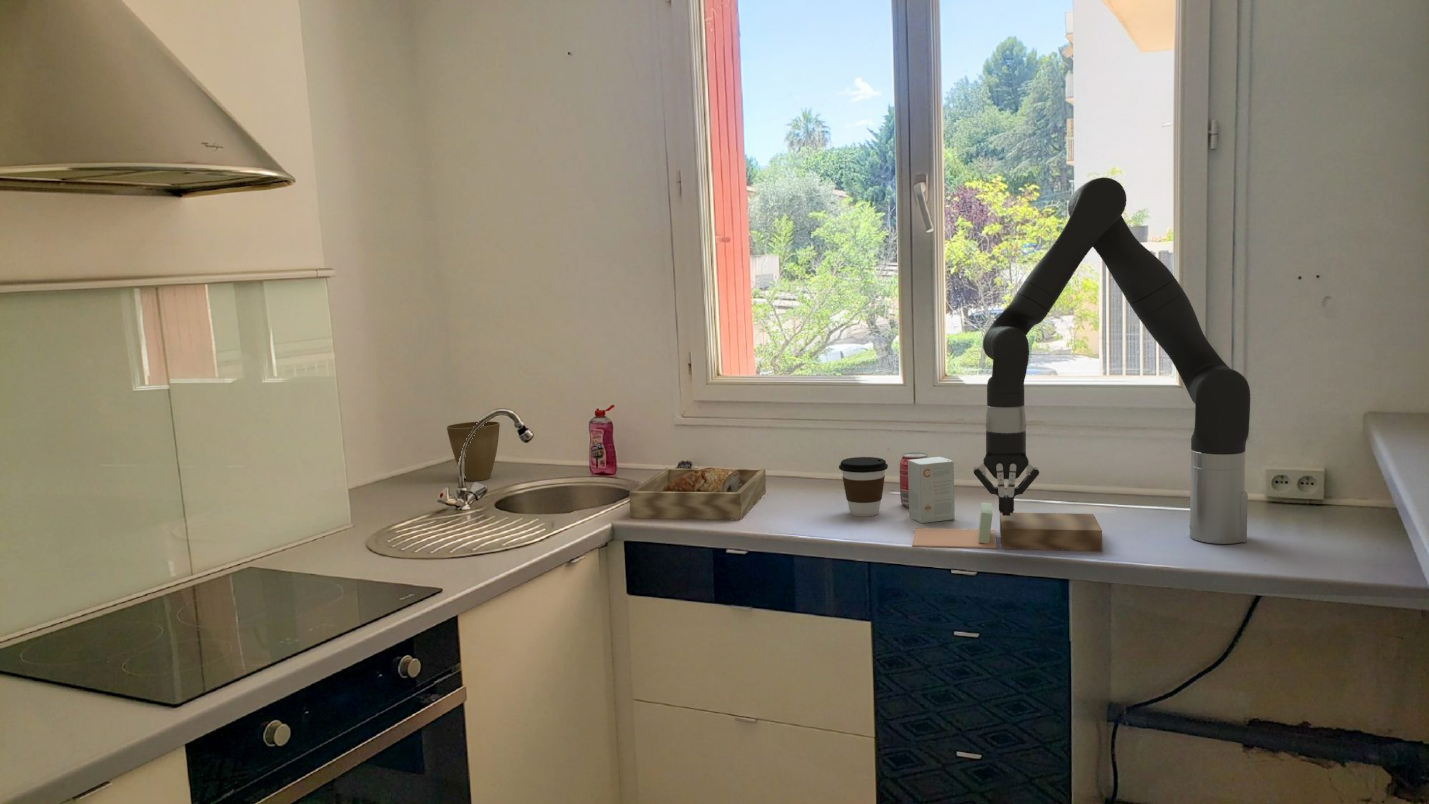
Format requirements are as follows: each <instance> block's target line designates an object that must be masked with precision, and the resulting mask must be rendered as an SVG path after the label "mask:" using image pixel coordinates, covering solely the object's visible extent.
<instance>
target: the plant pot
mask: <svg viewBox="0 0 1429 804" xmlns="http://www.w3.org/2000/svg"><path fill="white" fill-rule="evenodd" d="M478 422H479V421H469V422H467V421H466V422H459V423H454V424H450V425H447V426H446V431H447V435H448V439H449V443H450V444H449V445H450V447H451V451H452V454H453V457H454V459H455V462H456V465H457V466H458V462H459V458H460V456H461V451H462V448H463V445H464V443H465V442H466V438H468V435H469V434H470V433H471V431H472V429H473V426H475V425H476V423H478ZM500 425H501V423H500V422H498V421H494V420H493V421H492V420H491V421H488V422H487V423H485V424H484V426H482V427H481V428H479V430H478V431H477V432H476V434H475V436H473V439H472V440H471V443H469V446H468V448H467V451H466V457H465V476H466V480H465V481H466V482H475V481H476V482H477V481H479V482H480V481H485V480H489V479H490V478H491V476H492V473H493V470H494V466H495V461H496V457H497V451H498V446H499V445H498V444H499V437H500V427H501V426H500Z"/></svg>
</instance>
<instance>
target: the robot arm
mask: <svg viewBox="0 0 1429 804" xmlns="http://www.w3.org/2000/svg"><path fill="white" fill-rule="evenodd" d="M1125 190H1126V189H1124V187H1123V186H1122V184H1121V183H1120V182H1119V181H1117V180H1115V179H1114V178H1110V177H1097V178H1094V179H1091V180H1089V181H1087V182H1086V183H1083V185H1081V186H1080V187H1079V188H1077V189H1076V190H1075V191H1074V192H1073V193H1072V194H1071V196H1070V198H1069V200H1068V204H1067V212H1068V215H1069V217H1068V220H1067V222H1066V224H1065V226H1064V227H1063V229H1062V230H1061V232H1060V234H1059V235H1058V237H1057V238H1056V240H1055V241H1054V243H1053V244H1052V245H1051V246H1050V248H1049V249H1048V250H1047V251H1046V253H1045V254H1044V255H1043V257H1042V258H1041V259H1039V262H1037V264H1036V265H1035V266H1034V267H1033V269H1032V270H1031V272H1029V274H1028V276H1027V277H1026V279H1025V280H1024V282H1023V283H1022V285H1021V286H1020V288H1019V289H1018V291H1017V293H1016V294H1015V296H1014V297H1013V299H1012V301H1011V302H1010V304H1009V305H1008V306H1007V307H1005V309H1004V310H1003V311H1002V312H1001V313H1000V314H999V315H998V316H997V318H995V320H994V321H993V322H992V324H990V326H989V328H988V330H987V331H986V333H985V335H984V337H983V340H982V348H983V349H982V350H983V352H984V353H985V355H986V356H987V357H988V358H989V359H990V360H992V373H991V377H989V378H988V380H987V384H986V413H985V425H984V426H985V456H984V458H983V459H982V460H983V461H982V463H981V464H980V465H978V466H975V467H973V474H974V476H975V477H976V478H977V479H978V480H979V481H980V483H981V484H982V485H983V486H984V488H986V490H987V491H988V493H990V494H991V495H996V496H997V497H998V512H999V514H1000V513H1002V515H1003V516H1006V515H1007V516H1010V513H1014V511H1015V497H1016V496H1019V495H1023V494H1024V493H1025V492H1026V490H1027V489H1028V488H1029V487H1030V486H1031V484H1033V482H1034V481H1035V480H1036V478H1037V477H1038V476H1039V475H1040V471H1039V468H1038V467H1035V466H1033V465H1032V464H1031V463H1030V461H1029V459H1028V457H1027V432H1026V431H1027V419H1026V417H1027V415H1026V409H1025V407H1026V406H1025V380H1026V377H1027V376H1026V375H1027V370H1028V364H1029V357H1030V345H1029V344H1030V343H1029V339H1028V336H1027V335H1028V333H1030V331H1031V329H1032V328H1033V327H1035V326H1036V325H1039V324H1041V323H1042V322H1043V321H1044V320H1045V318H1046V317H1047V316H1048V314H1049V313H1050V311H1051V310H1052V308H1053V307H1054V305H1055V304H1056V302H1057V300H1058V299H1059V297H1060V296H1061V295H1062V292H1064V290H1065V288H1066V286H1067V285H1068V283H1069V281H1070V280H1071V278H1072V277H1073V275H1074V273H1076V270H1077V269H1078V267H1079V266H1080V265H1081V263H1082V261H1084V259H1085V257H1087V254H1088V253H1089V252H1090V251H1091V249H1092V248H1093V249H1094V250H1095V251H1096V253H1097V255H1099V257H1100V258H1101V260H1102V261H1103V263H1104V264H1105V266H1106V268H1107V270H1108V271H1109V273H1110V275H1111V277H1112V278H1113V280H1114V281H1115V283H1116V285H1117V286H1118V288H1119V289H1120V291H1121V293H1122V294H1123V296H1124V298H1125V299H1126V300H1127V303H1128V304H1129V305H1130V307H1131V308H1132V309H1131V310H1133V311H1134V313H1135V314H1136V316H1137V317H1138V319H1139V320H1140V322H1141V323H1142V325H1143V326H1144V328H1145V329H1146V330H1147V332H1148V333H1149V334H1150V335H1151V336H1152V338H1153V339H1154V340H1155V341H1156V343H1157V344H1158V345H1159V346H1160V348H1161V349H1162V350H1163V351H1164V352H1165V353H1166V355H1167V356H1168V357H1169V359H1170V360H1171V362H1172V364H1173V365H1174V367H1175V369H1176V371H1177V373H1178V375H1179V377H1180V378H1181V380H1182V382H1183V384H1184V386H1185V388H1186V389H1185V390H1187V393H1188V394H1189V397H1190V400H1192V402H1193V404H1194V405H1195V407H1194V411H1195V412H1194V427H1193V428H1194V429H1193V433H1192V435H1191V439H1190V449H1191V450H1190V496H1189V497H1190V498H1189V500H1190V502H1189V503H1190V504H1189V505H1190V506H1189V508H1190V509H1189V537H1190V538H1191V539H1192V540H1196V541H1198V542H1202V543H1208V544H1209V543H1210V544H1216V545H1217V544H1218V545H1227V544H1228V545H1232V544H1238V543H1247V541H1248V540H1247V539H1248V507H1249V506H1248V504H1249V503H1248V502H1249V501H1248V500H1249V499H1248V497H1249V495H1248V492H1247V491H1245V489H1246V488H1245V485H1246V484H1245V483H1246V482H1245V480H1246V477H1245V475H1246V445H1247V444H1246V443H1247V440H1248V438H1249V431H1250V430H1249V429H1250V419H1251V418H1250V416H1251V390H1250V389H1251V388H1250V385H1249V382H1248V380H1247V378H1245V376H1244V375H1243V374H1242V373H1240V372H1239V371H1237V370H1235V369H1232V368H1230V366H1228V365H1227V363H1226V362H1225V361H1224V360H1223V359H1222V357H1220V355H1219V353H1218V352H1217V351H1216V350H1215V348H1213V346H1212V345H1211V344H1210V342H1209V341H1208V340H1207V338H1206V336H1205V334H1204V332H1203V330H1202V327H1201V325H1200V323H1199V319H1198V317H1197V315H1196V312H1195V310H1194V308H1193V305H1192V303H1191V301H1190V300H1189V299H1190V298H1188V296H1187V294H1186V292H1185V291H1184V289H1183V288H1182V286H1181V285H1180V283H1179V281H1178V280H1177V279H1176V277H1175V276H1174V274H1173V273H1172V271H1170V269H1169V268H1168V267H1167V266H1166V264H1164V263H1163V262H1162V261H1161V260H1160V259H1159V258H1158V257H1157V256H1155V254H1154V253H1152V252H1151V251H1150V250H1149V249H1148V248H1146V246H1144V245H1143V244H1142V243H1141V242H1140V241H1139V240H1138V239H1137V237H1136V236H1135V235H1134V234H1133V232H1132V231H1131V229H1130V227H1129V226H1128V224H1127V222H1126V221H1125V219H1124V216H1123V213H1124V211H1125V209H1126V206H1127V194H1126V191H1125ZM986 469H987V470H988V472H989V473H990V474H991V475H992V477H993V478H994V479H996V481H997V486H995V485H994V484H993V483H992V481H991V480H990V479H989V478H988V477H987V470H986ZM1024 471H1025V475H1026V476H1025V477H1023V479H1022V480H1021V481H1020V482H1019V484H1018V485H1017V486H1016V479H1018V478H1019V477H1020V476H1021V475H1022V474H1023V472H1024ZM1005 480H1007V488H1006V489H1007V491H1005Z"/></svg>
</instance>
